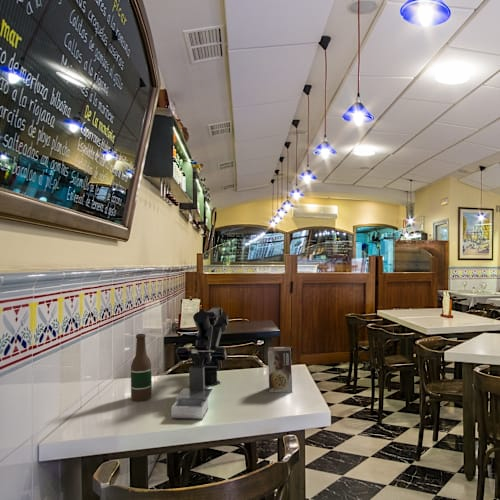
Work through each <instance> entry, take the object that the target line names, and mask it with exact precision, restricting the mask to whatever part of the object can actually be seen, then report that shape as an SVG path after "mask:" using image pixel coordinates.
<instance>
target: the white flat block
mask: <svg viewBox="0 0 500 500" xmlns="http://www.w3.org/2000/svg"><path fill="white" fill-rule="evenodd" d="M208 410H209V398H208V399H207V400H175V402H174V404H173V405H171V420H173V421H174V420H176V421H179V420H181V421H188V420H189V421H203V419H204V418H205V416H206V414H207V412H208Z"/></svg>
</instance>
